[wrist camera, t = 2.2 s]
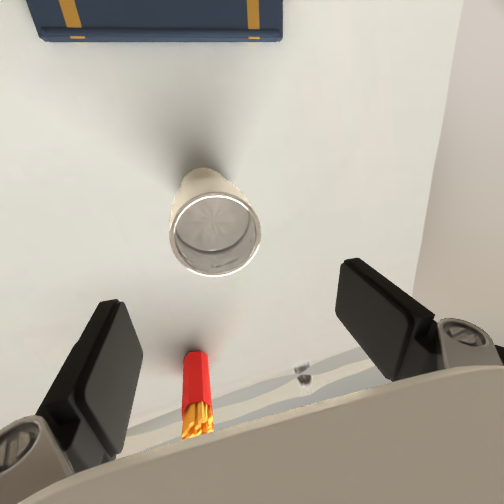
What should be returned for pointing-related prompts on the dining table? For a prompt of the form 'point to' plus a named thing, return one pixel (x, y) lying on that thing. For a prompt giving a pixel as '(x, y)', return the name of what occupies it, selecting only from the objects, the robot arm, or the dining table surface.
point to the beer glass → (212, 225)
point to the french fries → (196, 396)
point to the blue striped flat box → (158, 20)
